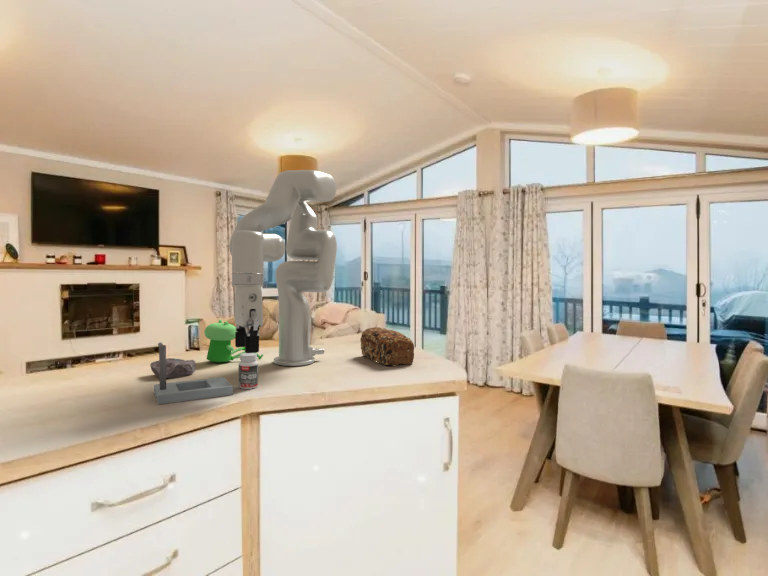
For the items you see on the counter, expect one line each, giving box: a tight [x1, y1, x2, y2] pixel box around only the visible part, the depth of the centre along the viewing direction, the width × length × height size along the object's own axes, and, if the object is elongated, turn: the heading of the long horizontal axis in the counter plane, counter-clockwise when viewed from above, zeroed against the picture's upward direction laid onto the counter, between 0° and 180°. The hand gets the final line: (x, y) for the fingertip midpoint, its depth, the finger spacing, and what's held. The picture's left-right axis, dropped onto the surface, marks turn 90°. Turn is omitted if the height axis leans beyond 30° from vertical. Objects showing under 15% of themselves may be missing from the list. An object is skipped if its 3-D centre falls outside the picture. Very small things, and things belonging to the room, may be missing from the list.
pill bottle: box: [238, 353, 259, 390], centre depth 118 cm, size 5×5×8 cm
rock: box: [149, 358, 196, 379], centre depth 129 cm, size 8×11×5 cm
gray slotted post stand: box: [153, 342, 234, 405], centre depth 111 cm, size 16×10×12 cm, turn 121°
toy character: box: [204, 319, 264, 364], centre depth 148 cm, size 10×18×13 cm, turn 131°
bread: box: [360, 326, 415, 366], centre depth 152 cm, size 19×11×10 cm, turn 28°
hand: (246, 349), depth 116 cm, fingers open, 9 cm apart
